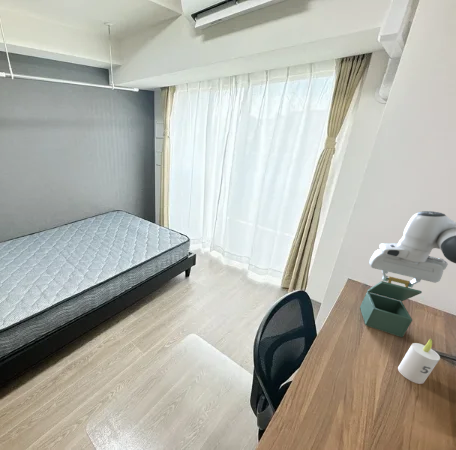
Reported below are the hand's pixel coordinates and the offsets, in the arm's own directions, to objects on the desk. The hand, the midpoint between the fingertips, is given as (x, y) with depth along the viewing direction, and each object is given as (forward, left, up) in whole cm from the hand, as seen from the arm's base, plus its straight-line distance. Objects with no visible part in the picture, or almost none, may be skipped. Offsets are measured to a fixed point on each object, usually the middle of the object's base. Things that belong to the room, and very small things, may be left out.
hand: (396, 283), depth 97 cm
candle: (-3, +28, -18) cm, 33 cm away
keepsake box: (0, +2, -18) cm, 18 cm away
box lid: (0, 0, -4) cm, 4 cm away
